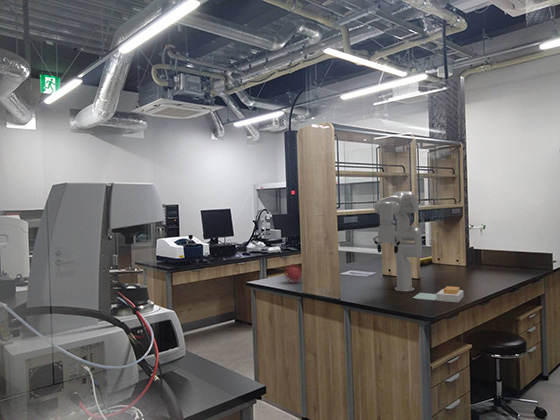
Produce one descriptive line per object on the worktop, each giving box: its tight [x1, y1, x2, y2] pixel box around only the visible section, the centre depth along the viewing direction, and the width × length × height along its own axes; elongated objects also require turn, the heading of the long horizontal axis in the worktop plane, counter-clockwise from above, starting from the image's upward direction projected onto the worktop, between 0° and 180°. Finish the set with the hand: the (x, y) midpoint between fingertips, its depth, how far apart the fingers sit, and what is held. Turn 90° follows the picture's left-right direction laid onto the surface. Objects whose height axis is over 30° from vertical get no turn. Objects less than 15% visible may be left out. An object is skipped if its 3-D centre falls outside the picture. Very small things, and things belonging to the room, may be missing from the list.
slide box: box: [443, 285, 461, 294], centre depth 246 cm, size 10×7×2 cm
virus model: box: [284, 263, 302, 283], centre depth 316 cm, size 15×15×15 cm
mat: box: [412, 292, 437, 301], centre depth 255 cm, size 16×13×1 cm
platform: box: [435, 288, 465, 303], centre depth 247 cm, size 16×12×4 cm
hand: (387, 252), depth 240 cm, fingers open, 9 cm apart
